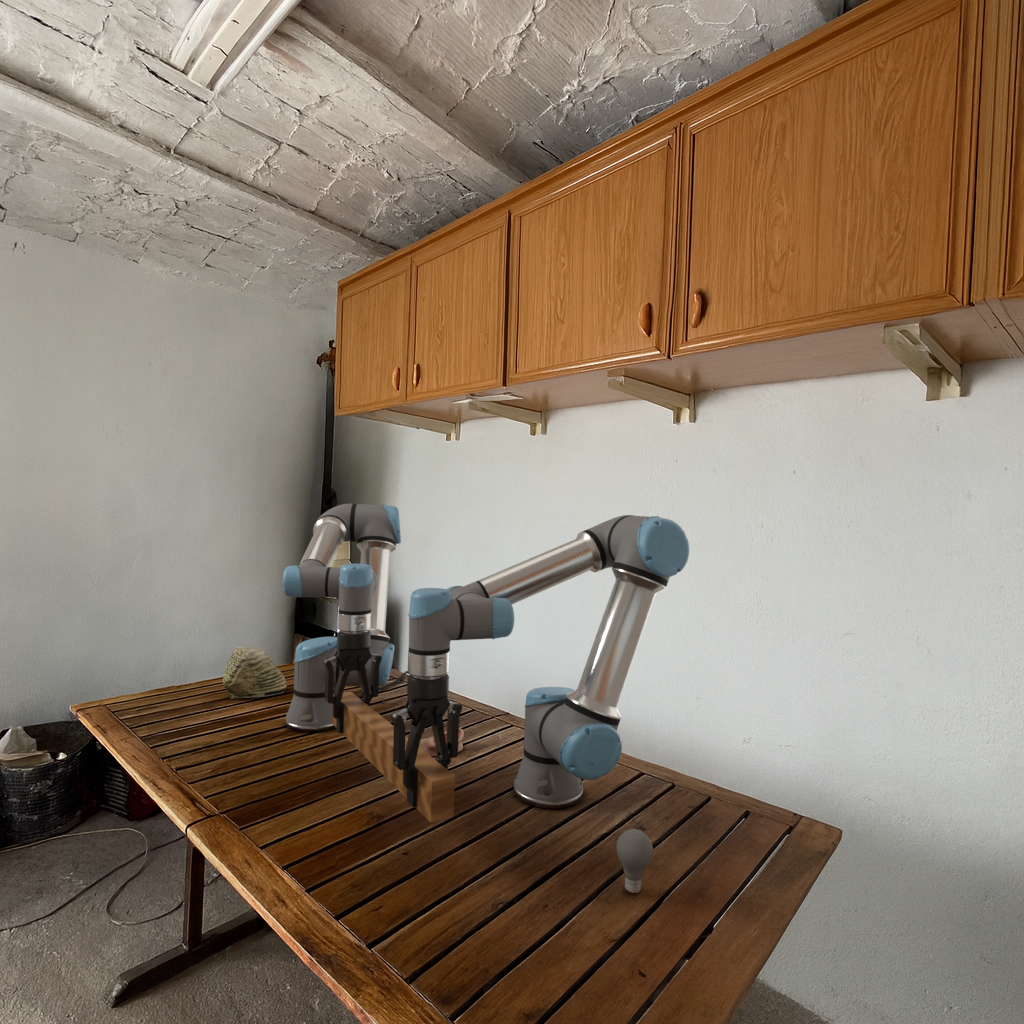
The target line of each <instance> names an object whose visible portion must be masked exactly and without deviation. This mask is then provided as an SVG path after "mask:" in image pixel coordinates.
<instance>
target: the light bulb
mask: <svg viewBox="0 0 1024 1024" xmlns="http://www.w3.org/2000/svg"><path fill="white" fill-rule="evenodd" d="M615 849H616V854H617V857H618V859H619V861H620V863H621V865H622V867H623V873H624V874H623V875H624V876H625V878H624V888H625V890H627V891H628V892H630V893H634V894H635V893H639V892H640V891H641V889H642V887H641V886H642V879H643V877H644V875H645V871H646V868H647V867H648V866H649V864H650V863H651V861H652V859H653V855H654V847H653V843H652V841H651V838H649V836H648V835H647V834H646V833H645V832H643V831H642V830H641V829H636V828H629V829H627V830H625V831H623V832H622V833H621V834H620V835H619V837H618V839H617V841H616V847H615Z"/></svg>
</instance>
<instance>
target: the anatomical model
mask: <svg viewBox="0 0 1024 1024" xmlns="http://www.w3.org/2000/svg"><path fill="white" fill-rule="evenodd" d="M444 734H445V739H446V742H447V731H444ZM464 738H465V733H464V730H463V729H462V728H459V738H458V753H459V752H461V751H463V748H464V746H463V742H462V741H463V740H464ZM419 747H420V748H421V749H422V750H424V751H425V752H426V753H427V754H429V755H430V756H431V757H438V756H437V751H436V746H435V741H434V735H433V736H431V737H427V738H421V740H420V744H419Z"/></svg>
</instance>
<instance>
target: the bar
mask: <svg viewBox="0 0 1024 1024" xmlns="http://www.w3.org/2000/svg"><path fill="white" fill-rule="evenodd" d="M333 696H334V694H333ZM361 699H362V698H361V697H357V695H356V694H355V693H354V692H352V691H351V690H350V691H344V692H343V696H342V699H341V703H342V704H343V705H344V713H343V733H341V734H342V735H343V736H344V737H345V738H346V739H347V741H349V743H351V745H353V746H354V748H356V749H357V751H358V752H360V753H361V755H363V756H364V758H365V759H366V760H368V762H369V763H370V764H371V765H372V766H374V768H375V769H376V770H378V771H379V773H380V774H381V775H382V776H384V778H385V779H387V780H388V781H389V783H390V784H392V786H393V787H394V788H395V789H397V790H398V792H399V793H401V795H402V796H403V797H404V798H405V799H407V788H406V787H405V786H404V784H403V770H399V769H398V768H397V767H396V766H395V765H394V764H393V741H394V724H393V723H391V722H389V721H388V720H387V719H386V718H384V717H383V716H382V715H380V714H379V713H378V712H377V711H376V710H375V709H373V708H372V707H371V706H370V707H369V706H368V705H367V704H366V703H364V702H363V701H362V700H361ZM336 719H337V718H336ZM336 719H335V718H334V717H333V706H332V724H333V725H334V726H335V728H336ZM408 737H409V736H407V735H405V750H406V746H407V741H408ZM414 768H415V769H416V770H418V782H417V807H415V809H416V810H417V811H418V812H419V813H420V814H421V815H422V816H423V817H424V818H425V819H426V820H427V821H428V822H429V823H430V824H432V823H435V822H439V821H442V820H445V819H449V818H453V817H455V815H454V813H455V788H456V787H455V786H456V784H455V783H456V776H455V774H453V773H452V772H451V771H450V770H447V769H446V768H445V767H443V766H442V765H441V764H440V763H438V762H437V761H436V759H435V758H434V757H433V756H430V755H429V754H427V753H426V752H425V751H424V750H422V749H421V748H420V747H419V749H418V753H417V757H416V761H415V766H414Z"/></svg>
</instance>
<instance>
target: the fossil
mask: <svg viewBox="0 0 1024 1024" xmlns="http://www.w3.org/2000/svg"><path fill="white" fill-rule="evenodd" d="M222 676H223V677H222V685H223V687H224V688H225V690H226V691H228V693H229V698H230V699H250V698H264V697H271V696H275V695H281V694H284V693H285V691H286V689H287V687H288V686H287V680H286V678H285V676H284V674H283V673H282V672H281V669H279V668H278V667H277V665H276V663H275V662H274V660H273V659H272V658H271V657H270V656H269V655H268V654H267V653H266V652H265V650H264V649H263V648H260V647H258V648H251V647H247V646H246V647H245V646H238V647H237V648H236V649H235V650H233V651H232V653H231V656H230V657H229V659H228V660H227V663H226V666H225V668H224V671H223V675H222Z"/></svg>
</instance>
